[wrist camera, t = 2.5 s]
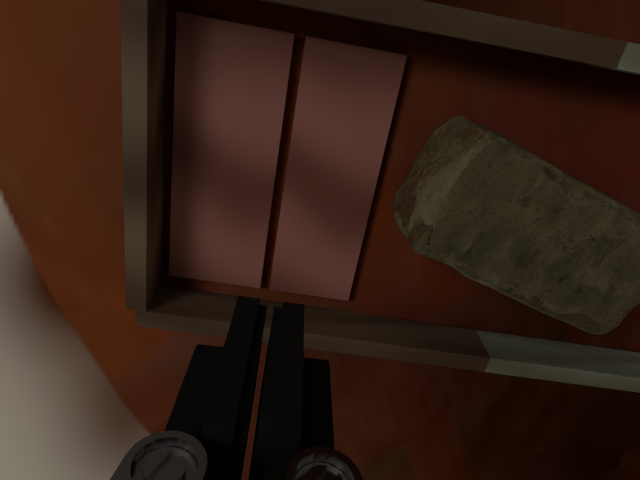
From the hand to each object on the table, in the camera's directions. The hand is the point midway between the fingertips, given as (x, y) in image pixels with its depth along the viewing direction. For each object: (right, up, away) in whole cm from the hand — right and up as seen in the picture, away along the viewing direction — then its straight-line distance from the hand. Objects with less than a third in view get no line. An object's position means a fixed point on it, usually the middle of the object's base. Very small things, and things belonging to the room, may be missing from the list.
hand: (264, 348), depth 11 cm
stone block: (+11, +5, +12) cm, 17 cm away
